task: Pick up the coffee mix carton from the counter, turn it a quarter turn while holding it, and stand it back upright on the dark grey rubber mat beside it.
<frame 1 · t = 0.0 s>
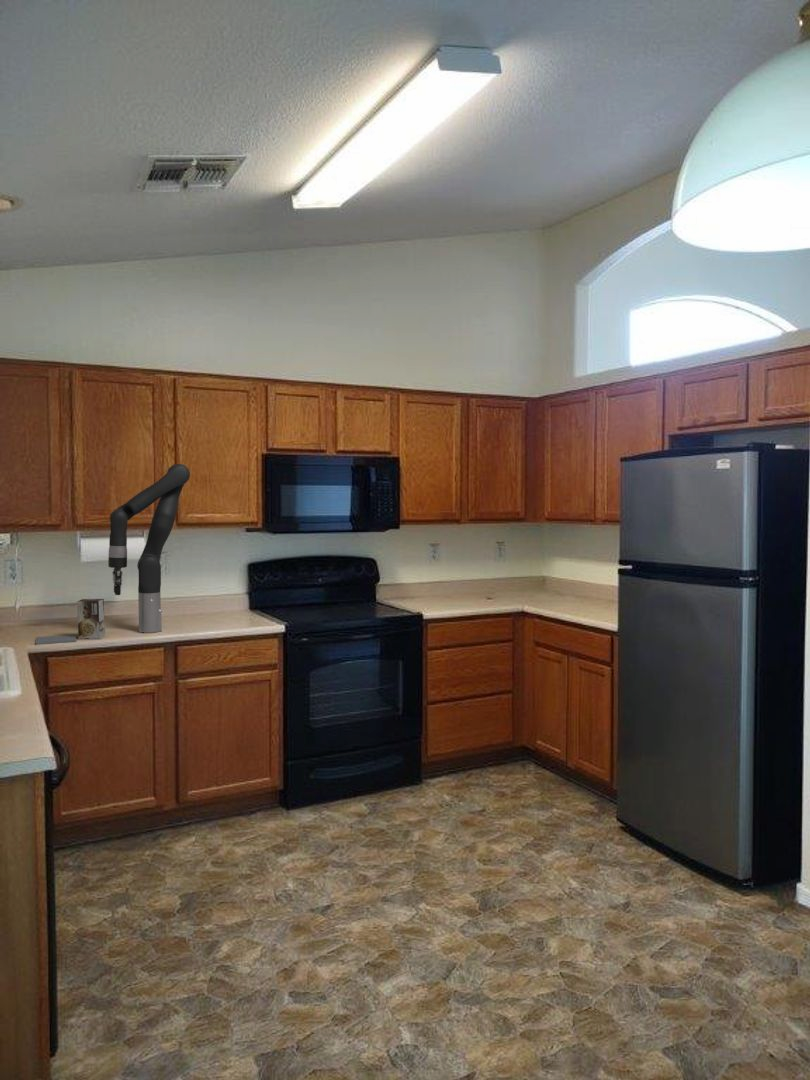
hand: (117, 593, 336), 17 cm above the worktop, tool pointing down, fingers open, 8 cm apart
mat: (56, 640, 322), on the worktop
coffee box: (91, 638, 327), on the worktop
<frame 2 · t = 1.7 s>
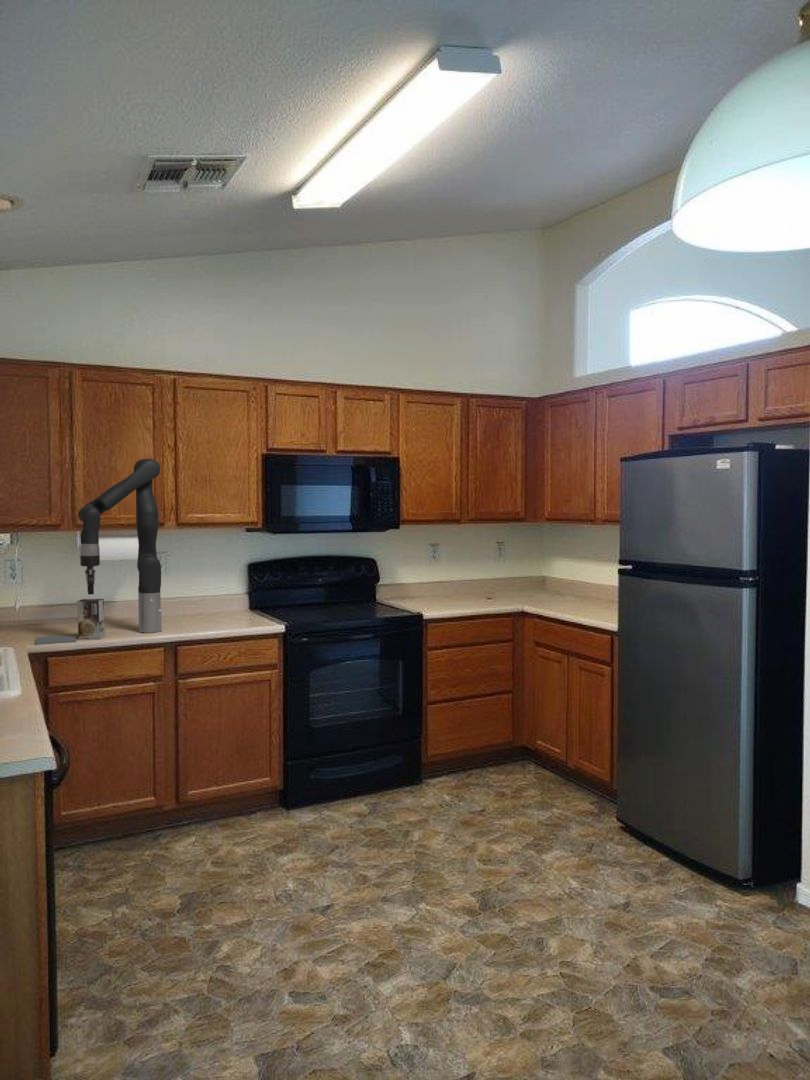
hand: (90, 593, 326), 19 cm above the worktop, tool pointing down, fingers open, 8 cm apart
nothing on the worktop moved.
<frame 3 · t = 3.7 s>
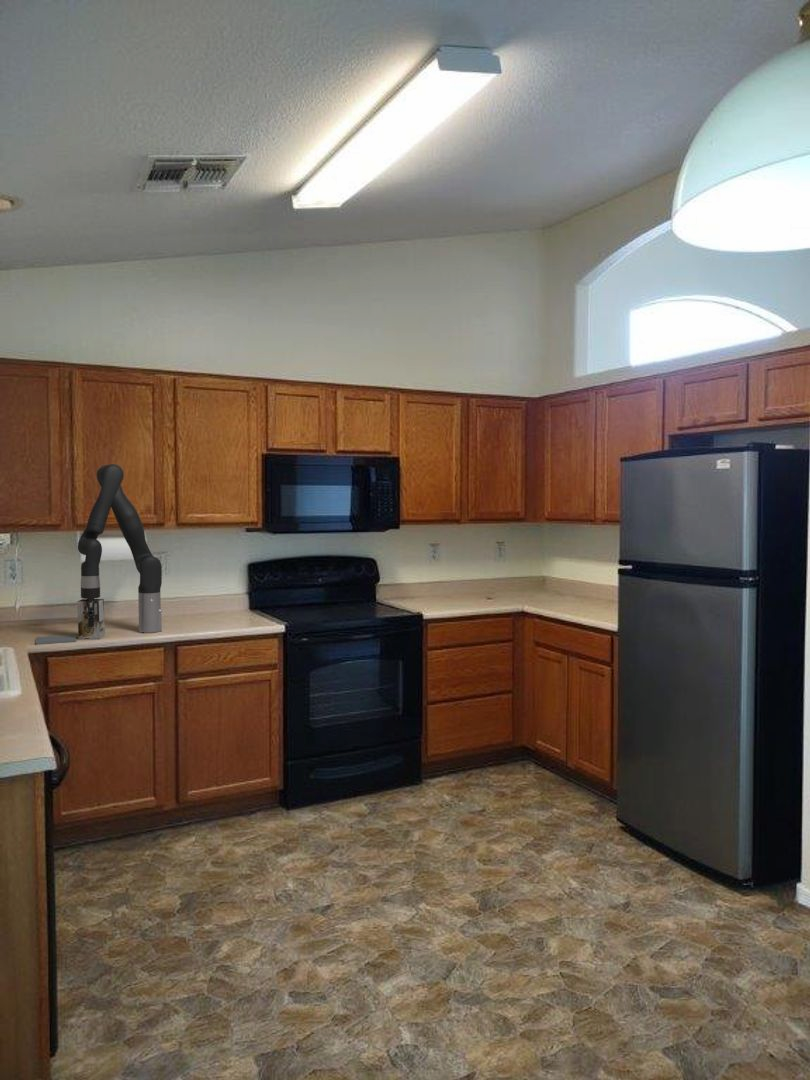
hand: (91, 625, 327), 5 cm above the worktop, tool pointing down, fingers closed on coffee box, 7 cm apart
coffee box: (91, 638, 327), on the worktop, touching gripper
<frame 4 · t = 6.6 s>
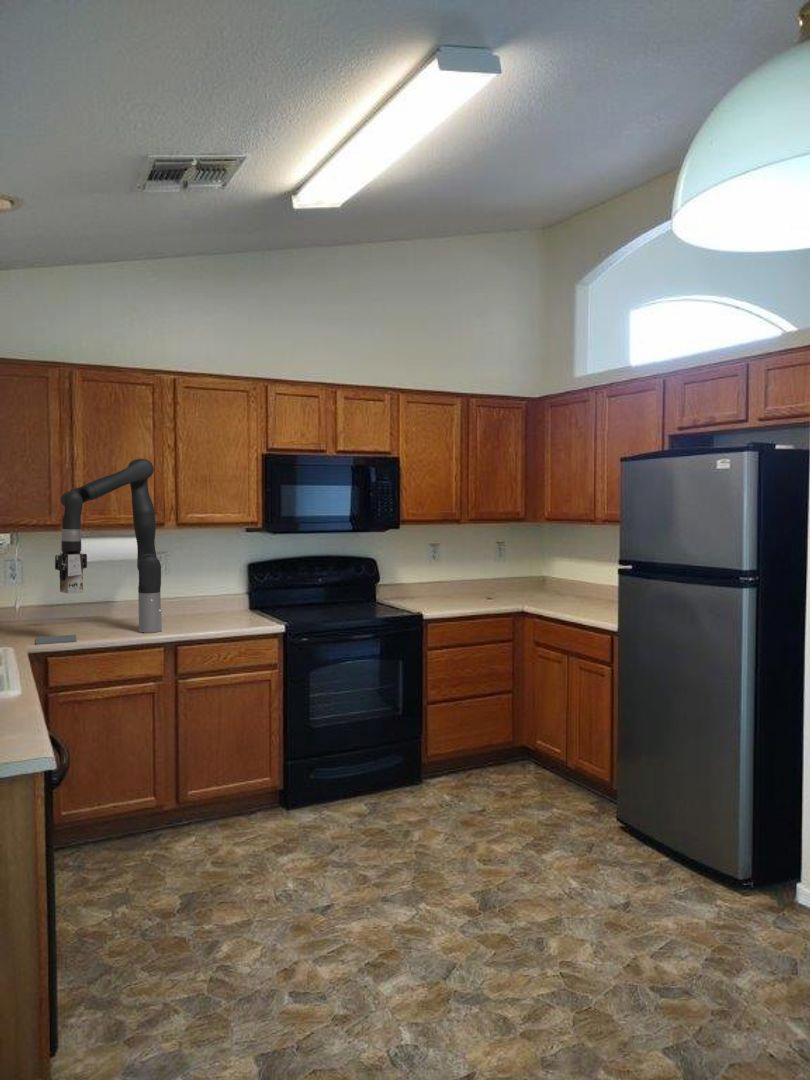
hand: (71, 579, 323), 25 cm above the worktop, tool pointing down, fingers closed on coffee box, 7 cm apart
coffee box: (71, 592, 323), point 19 cm above the worktop, touching gripper
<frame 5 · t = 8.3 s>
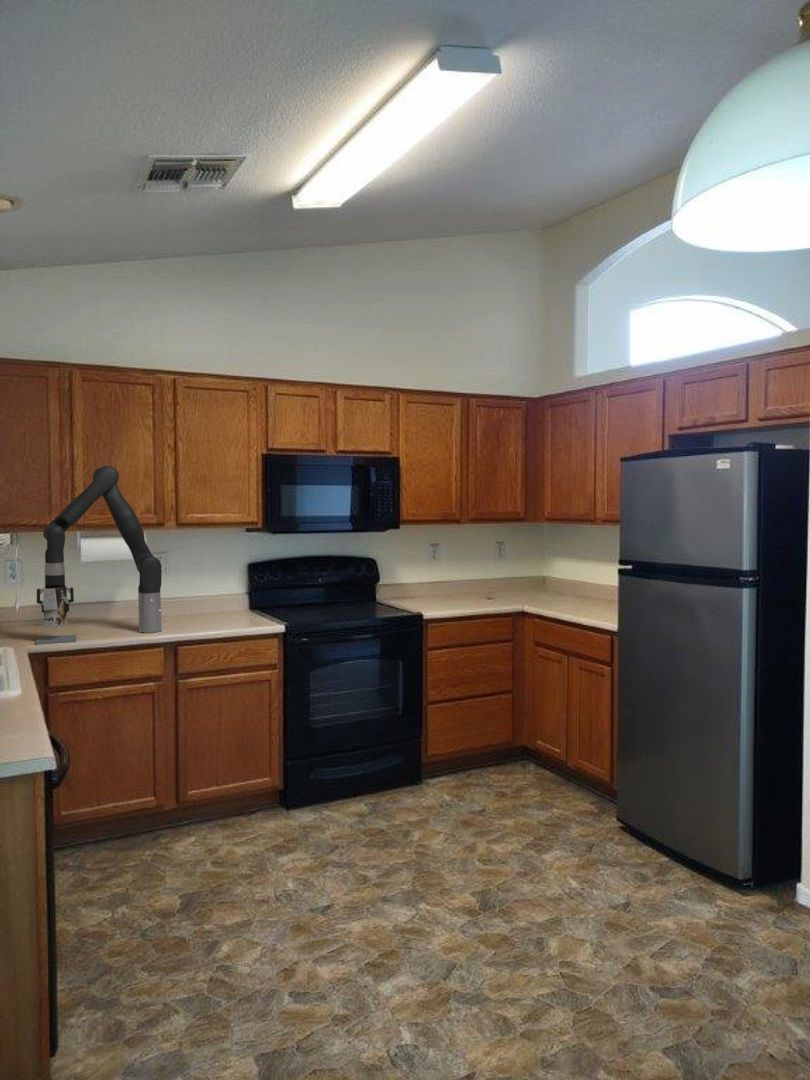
hand: (55, 613, 321), 11 cm above the worktop, tool pointing down, fingers closed on coffee box, 7 cm apart
coffee box: (55, 626, 321), point 6 cm above the worktop, touching gripper
when the fingers open (7 cm above the worktop, at t = 9.8 s): coffee box drops 1 cm, resting on mat.
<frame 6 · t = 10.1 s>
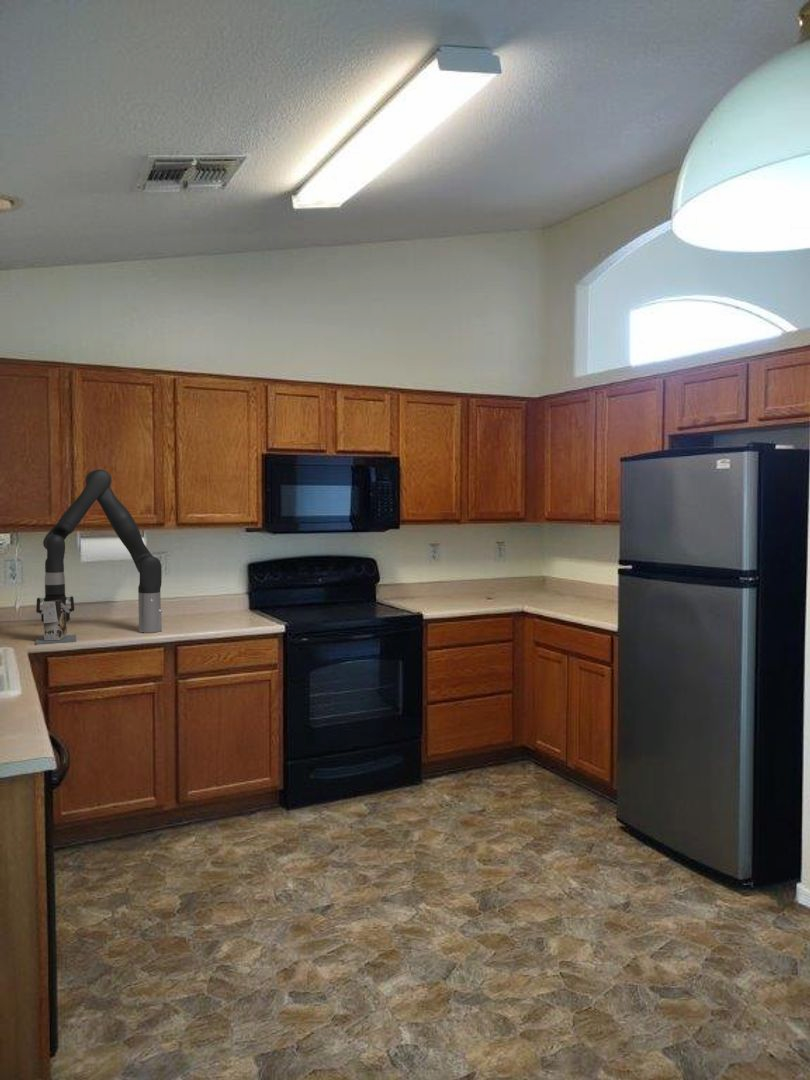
hand: (55, 622, 321), 7 cm above the worktop, tool pointing down, fingers open, 8 cm apart
coffee box: (56, 639, 321), resting on mat
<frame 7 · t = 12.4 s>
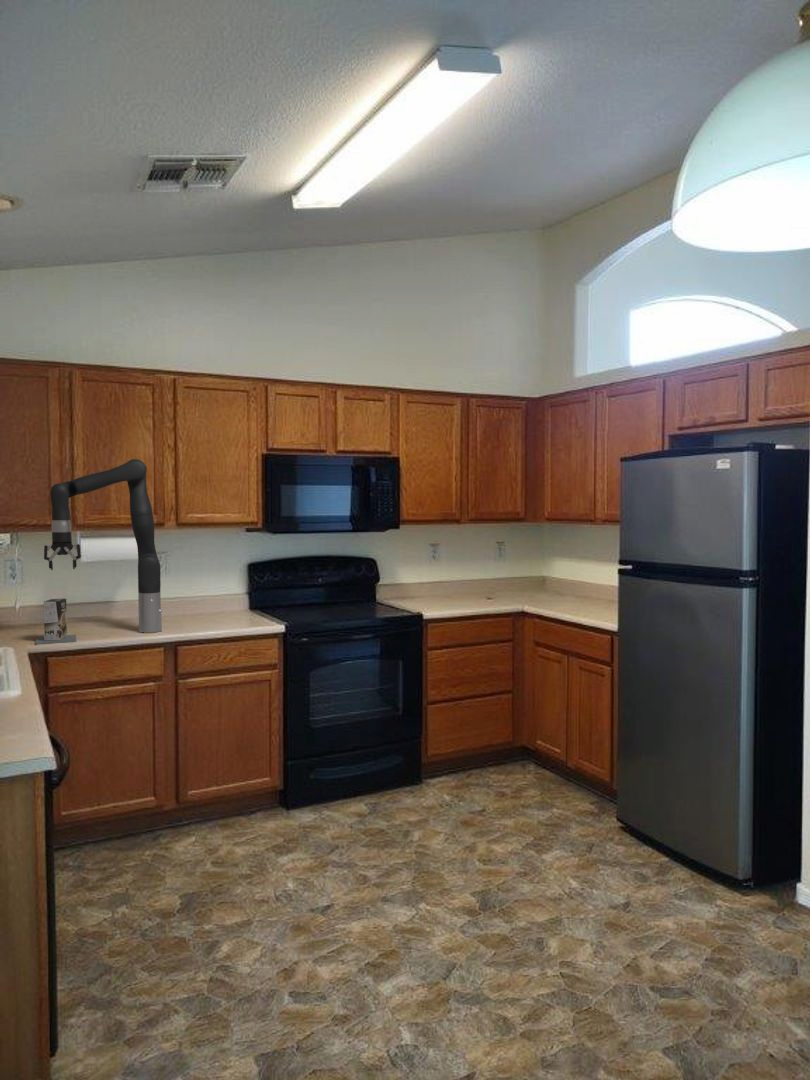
hand: (63, 569, 330), 28 cm above the worktop, tool pointing down, fingers open, 8 cm apart
nothing on the worktop moved.
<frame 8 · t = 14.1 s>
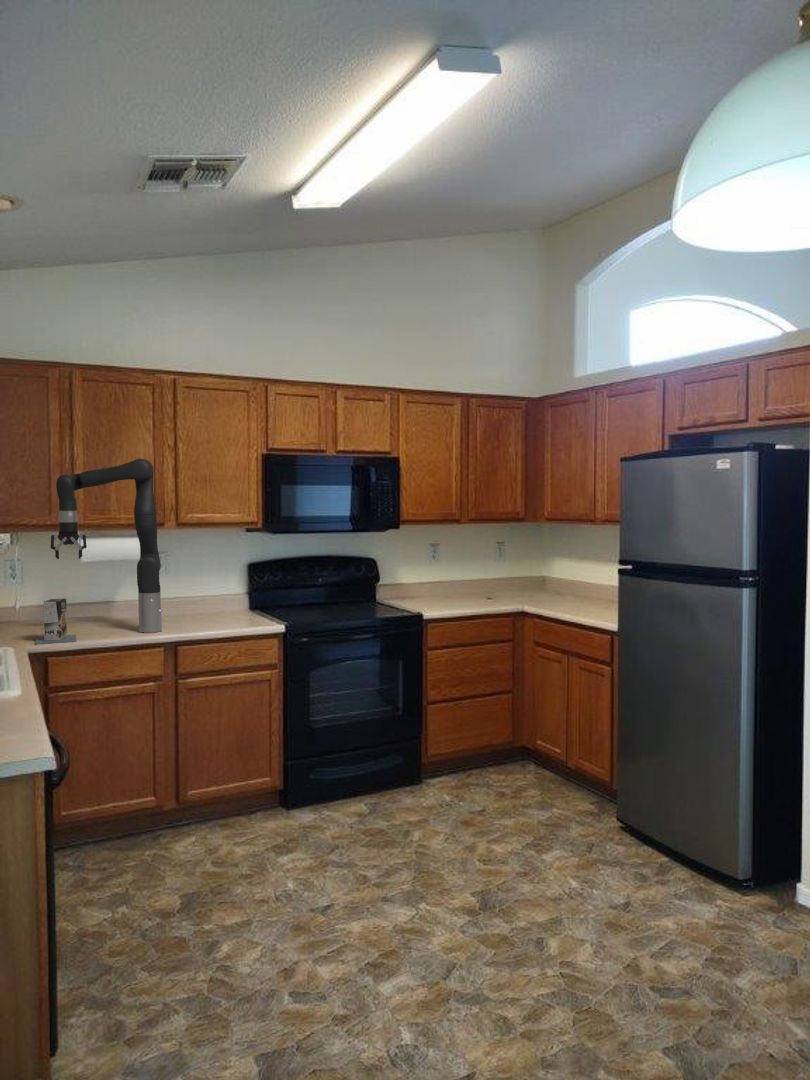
hand: (69, 558, 337), 32 cm above the worktop, tool pointing down, fingers open, 8 cm apart
nothing on the worktop moved.
at the end: coffee box inside the target area on the mat (0.1 cm from its centre), point 0.4 cm above the mat's base; coffee box tilted 0°; the gripper is holding nothing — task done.
